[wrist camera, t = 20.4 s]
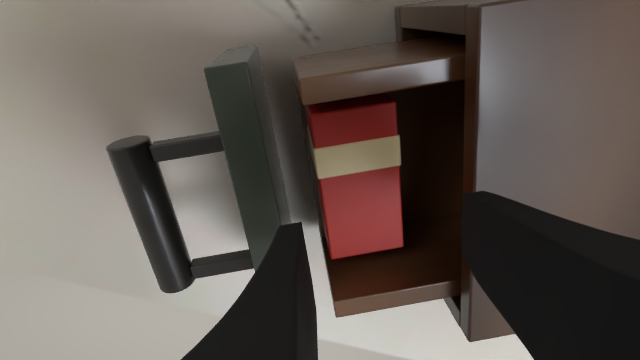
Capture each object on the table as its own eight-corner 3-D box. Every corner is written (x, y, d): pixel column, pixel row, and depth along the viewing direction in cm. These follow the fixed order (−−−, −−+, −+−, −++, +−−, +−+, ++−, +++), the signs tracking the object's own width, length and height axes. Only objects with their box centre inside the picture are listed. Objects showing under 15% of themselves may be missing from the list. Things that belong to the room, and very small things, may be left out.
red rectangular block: (385, 210, 18) (405, 248, 15) (321, 221, 18) (329, 261, 15) (376, 83, 16) (399, 100, 13) (301, 95, 16) (307, 115, 13)
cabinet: (406, 235, 21) (468, 343, 14) (394, 6, 17) (479, 3, 10) (641, 194, 22) (811, 279, 15) (695, -39, 17) (982, -73, 10)
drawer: (193, 272, 20) (163, 368, 14) (123, 64, 16) (44, 92, 10) (508, 217, 20) (589, 289, 15) (524, 3, 16) (645, -1, 11)
